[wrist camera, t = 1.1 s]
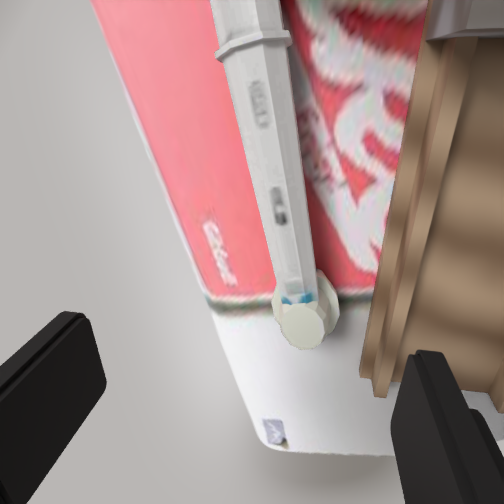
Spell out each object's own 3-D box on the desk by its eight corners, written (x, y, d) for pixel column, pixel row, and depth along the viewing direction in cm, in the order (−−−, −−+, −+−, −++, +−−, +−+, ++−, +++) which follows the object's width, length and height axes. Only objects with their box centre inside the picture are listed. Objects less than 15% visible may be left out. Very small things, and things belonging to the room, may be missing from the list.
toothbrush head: (283, -59, 16) (346, 372, 24) (294, -8, 22) (341, 322, 30) (183, -22, 17) (273, 375, 25) (220, 17, 23) (283, 326, 31)
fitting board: (432, -23, 18) (489, -69, 12) (717, -39, 16) (953, -104, 10) (359, 369, 33) (368, 437, 27) (507, 386, 31) (554, 465, 24)
